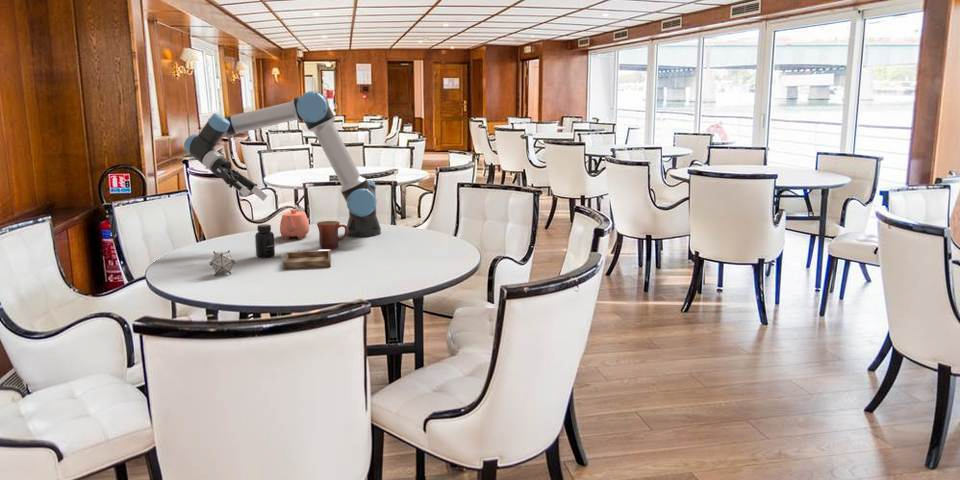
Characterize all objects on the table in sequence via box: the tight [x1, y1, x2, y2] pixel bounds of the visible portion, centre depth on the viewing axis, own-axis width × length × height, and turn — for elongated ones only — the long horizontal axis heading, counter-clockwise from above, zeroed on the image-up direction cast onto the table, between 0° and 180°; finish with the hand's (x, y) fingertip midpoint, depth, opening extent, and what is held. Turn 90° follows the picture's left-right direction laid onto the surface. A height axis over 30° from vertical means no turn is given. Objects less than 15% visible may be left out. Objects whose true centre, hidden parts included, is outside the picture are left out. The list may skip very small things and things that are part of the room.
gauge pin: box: [297, 249, 332, 252], centre depth 268 cm, size 12×2×2 cm, turn 102°
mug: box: [316, 220, 348, 250], centre depth 280 cm, size 12×9×10 cm
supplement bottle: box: [254, 223, 276, 259], centre depth 266 cm, size 7×7×12 cm
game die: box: [208, 250, 236, 276], centre depth 241 cm, size 9×8×10 cm
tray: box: [283, 250, 332, 270], centre depth 257 cm, size 16×16×2 cm
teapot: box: [279, 208, 310, 240], centre depth 300 cm, size 20×12×12 cm, turn 2°
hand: (256, 196), depth 273 cm, fingers open, 13 cm apart
